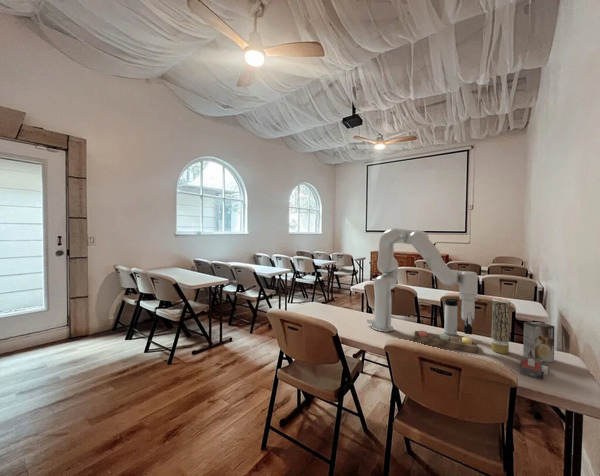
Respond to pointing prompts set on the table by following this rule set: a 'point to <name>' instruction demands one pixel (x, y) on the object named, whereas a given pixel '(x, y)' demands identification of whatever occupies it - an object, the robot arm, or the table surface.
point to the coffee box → (538, 341)
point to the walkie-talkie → (533, 368)
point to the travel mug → (450, 317)
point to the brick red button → (422, 333)
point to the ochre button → (466, 340)
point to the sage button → (444, 337)
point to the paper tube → (500, 325)
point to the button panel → (446, 342)
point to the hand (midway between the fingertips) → (468, 333)
